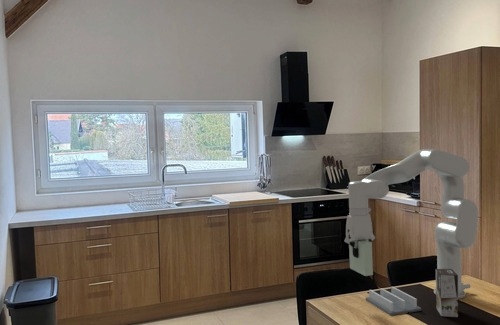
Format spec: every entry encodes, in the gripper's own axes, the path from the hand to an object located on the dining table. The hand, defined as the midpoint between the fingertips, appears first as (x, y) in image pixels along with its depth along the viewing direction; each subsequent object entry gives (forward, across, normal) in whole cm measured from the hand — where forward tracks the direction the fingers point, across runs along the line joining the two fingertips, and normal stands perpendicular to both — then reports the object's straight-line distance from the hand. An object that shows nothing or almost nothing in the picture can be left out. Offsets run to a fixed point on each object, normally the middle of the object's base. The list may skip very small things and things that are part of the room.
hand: (360, 256), depth 180 cm
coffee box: (+22, -27, +17) cm, 39 cm away
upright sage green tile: (+6, 0, 0) cm, 6 cm away
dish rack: (+21, -12, +3) cm, 25 cm away
